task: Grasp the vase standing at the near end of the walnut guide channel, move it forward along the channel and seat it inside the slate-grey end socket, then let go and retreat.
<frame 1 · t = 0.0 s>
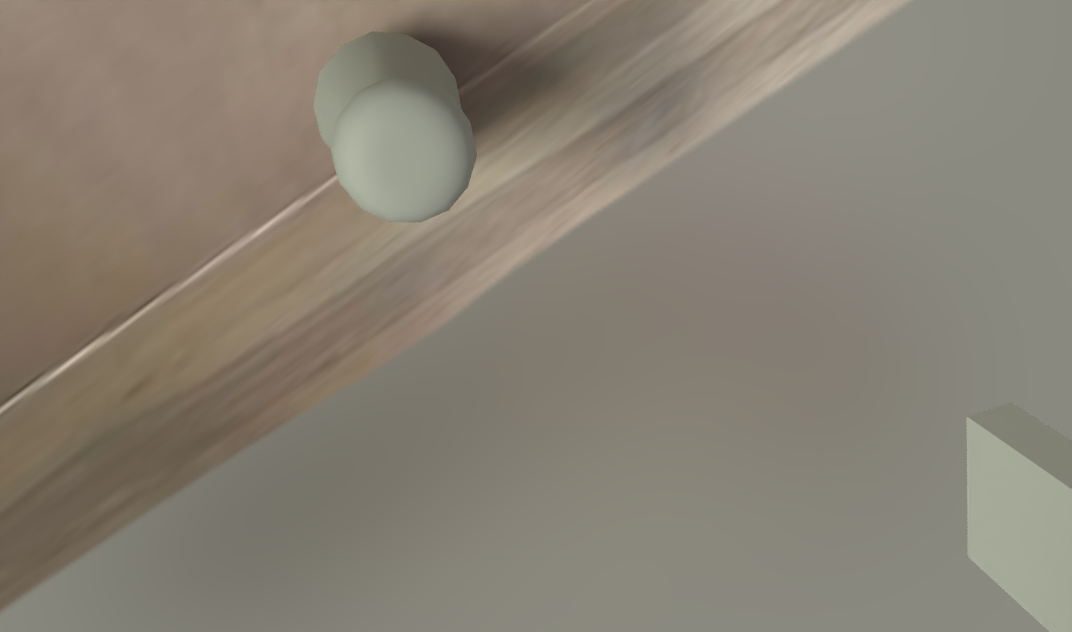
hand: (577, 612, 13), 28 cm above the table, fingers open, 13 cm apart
salt shaker: (385, 99, 37), on the table
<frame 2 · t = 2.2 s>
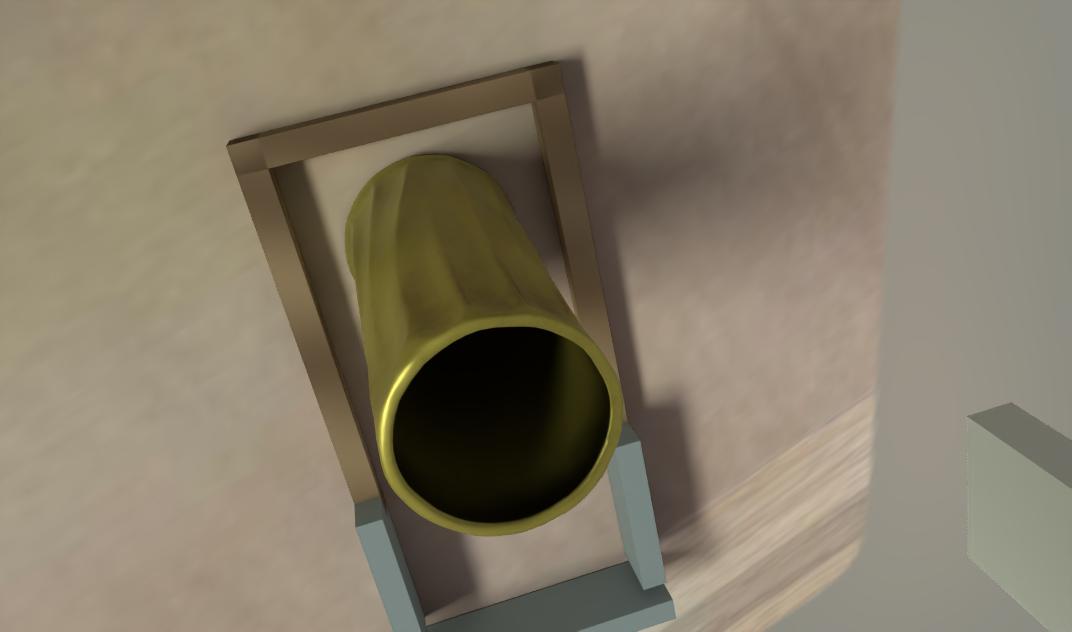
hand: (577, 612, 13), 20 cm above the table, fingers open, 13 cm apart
channel: (449, 302, 32), on the table
vase: (431, 237, 31), on the table
socket: (508, 519, 36), on the table
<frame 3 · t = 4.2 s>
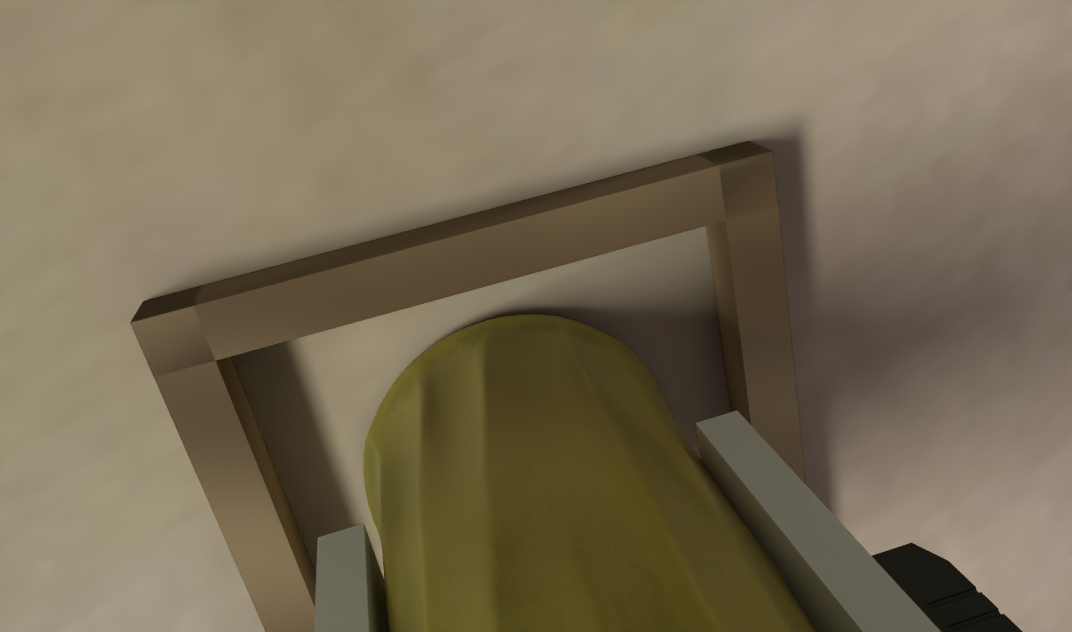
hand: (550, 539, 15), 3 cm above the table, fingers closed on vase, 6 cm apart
channel: (543, 552, 18), on the table
vase: (517, 448, 17), on the table, touching gripper
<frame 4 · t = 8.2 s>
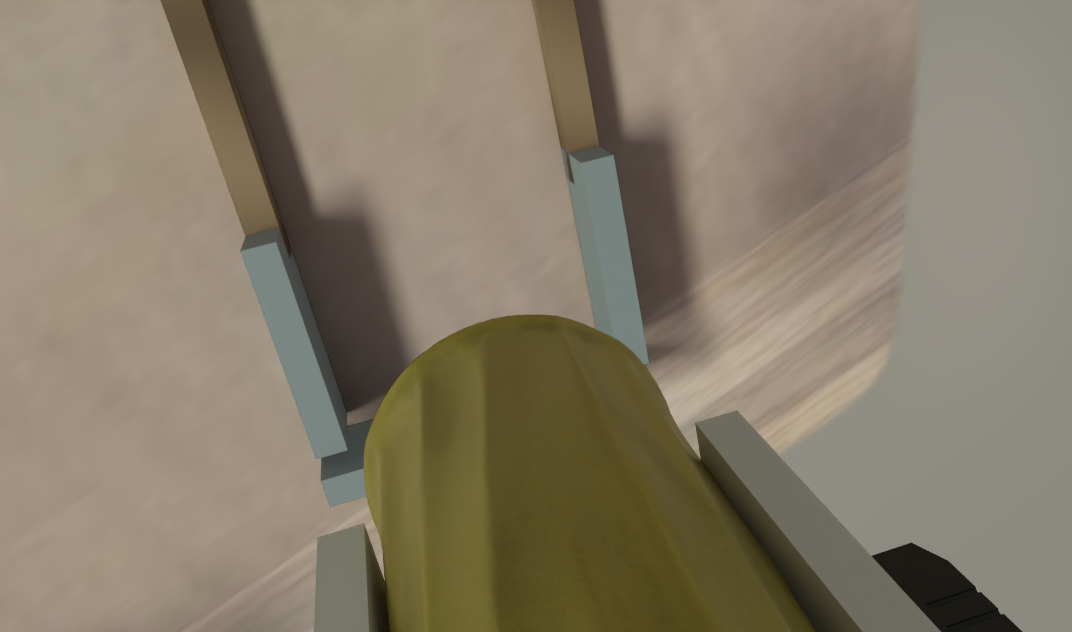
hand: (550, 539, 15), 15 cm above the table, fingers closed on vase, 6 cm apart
vase: (517, 448, 17), point 12 cm above the table, touching gripper
socket: (450, 284, 28), on the table
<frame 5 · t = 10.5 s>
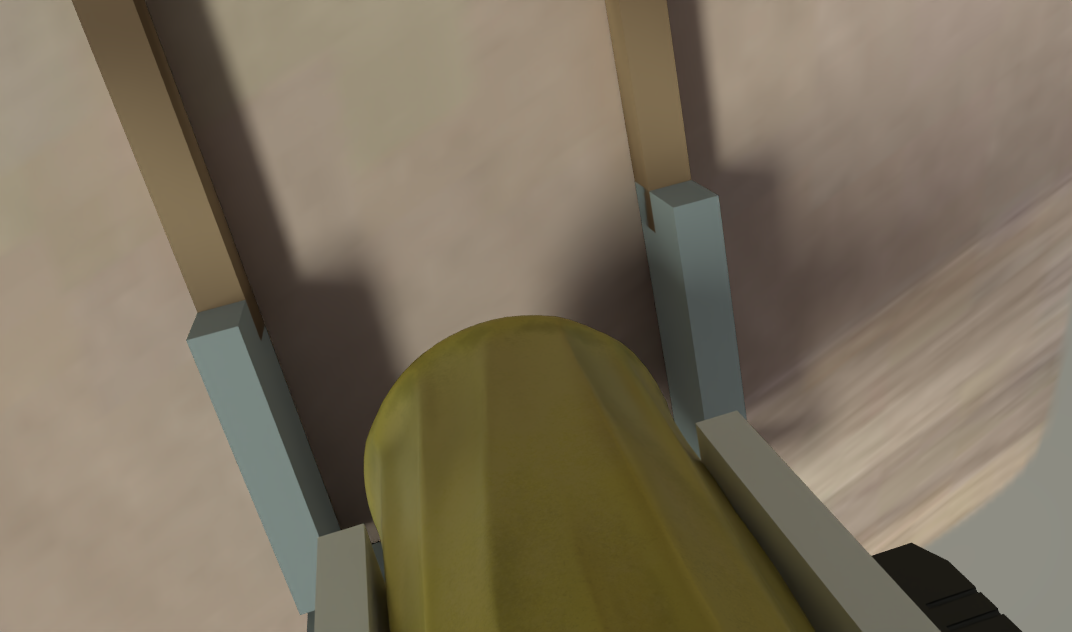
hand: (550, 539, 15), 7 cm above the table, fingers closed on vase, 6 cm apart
vase: (517, 449, 17), point 4 cm above the table, touching gripper
socket: (482, 366, 21), on the table
when the fingers open (4 cm above the table, at t = 12.2 s): vase drops 1 cm, on the table.
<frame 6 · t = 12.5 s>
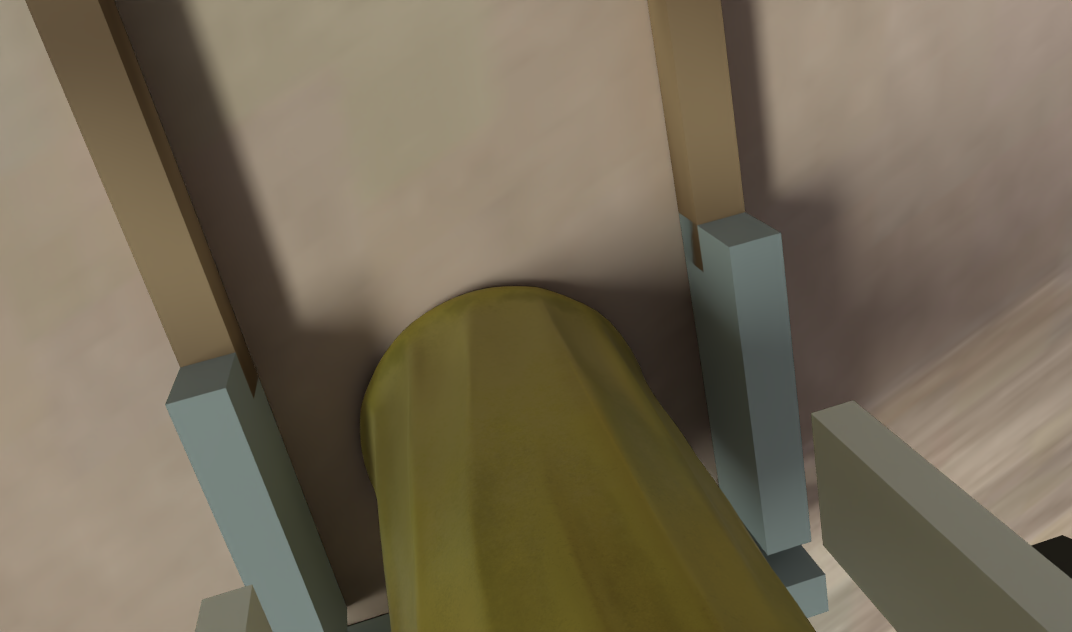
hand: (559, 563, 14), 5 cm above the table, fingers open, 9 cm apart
vase: (502, 412, 19), on the table
socket: (505, 419, 19), on the table
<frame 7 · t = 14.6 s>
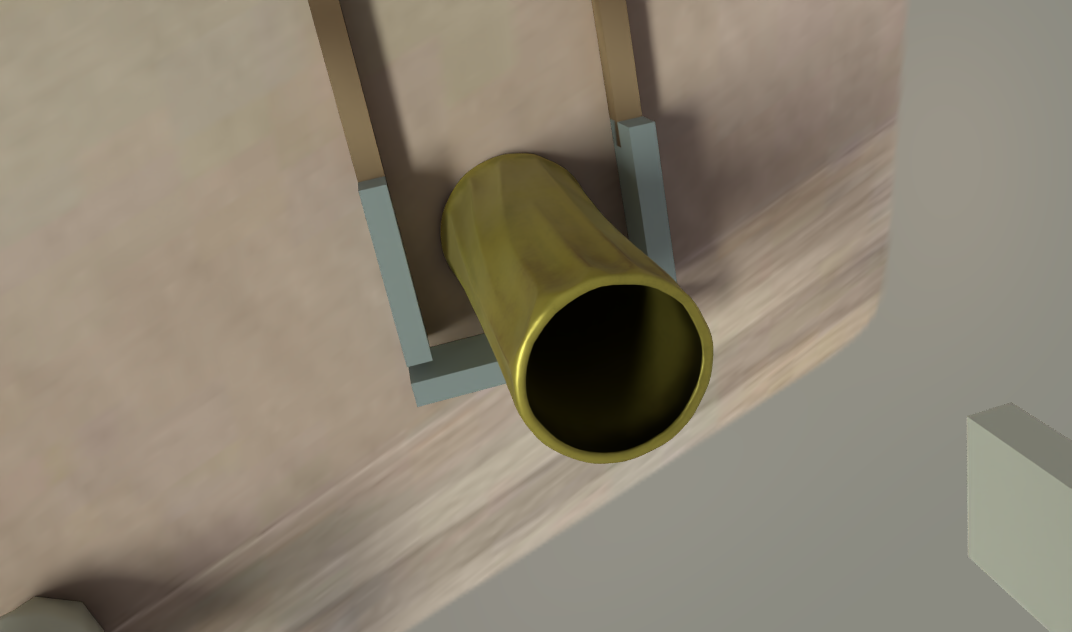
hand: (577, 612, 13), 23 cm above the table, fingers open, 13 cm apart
salt shaker: (53, 631, 37), on the table
vase: (515, 227, 35), on the table
socket: (516, 230, 35), on the table
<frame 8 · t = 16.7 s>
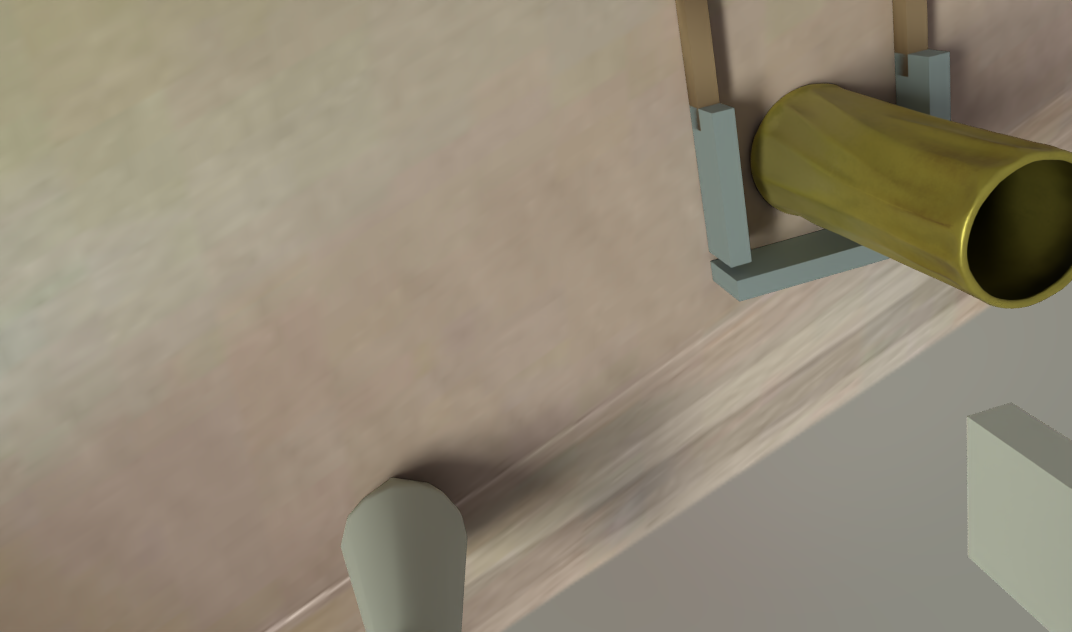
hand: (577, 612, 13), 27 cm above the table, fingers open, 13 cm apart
salt shaker: (400, 510, 43), on the table
vase: (807, 149, 40), on the table
socket: (809, 151, 40), on the table
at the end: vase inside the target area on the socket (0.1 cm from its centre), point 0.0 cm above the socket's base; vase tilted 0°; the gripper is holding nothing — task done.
